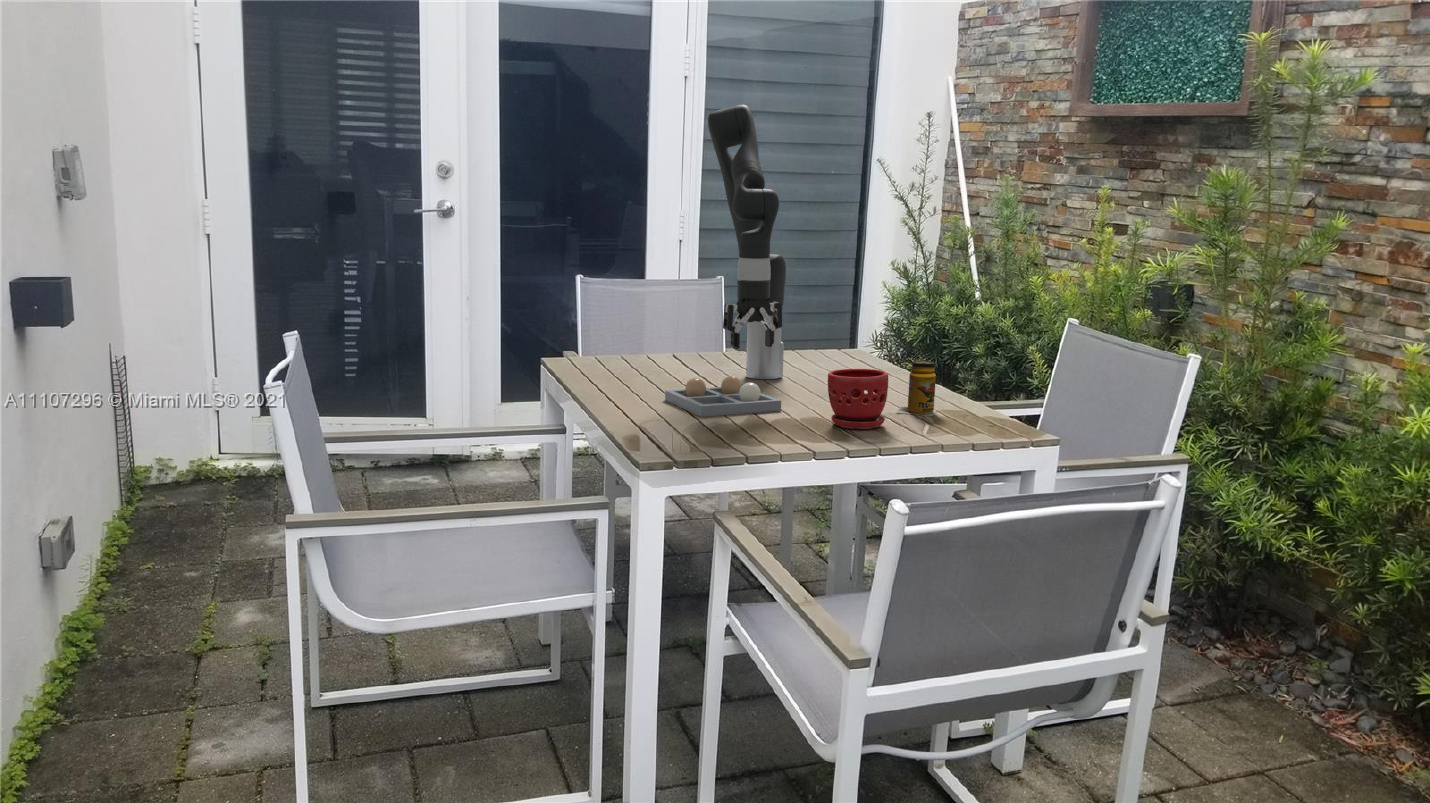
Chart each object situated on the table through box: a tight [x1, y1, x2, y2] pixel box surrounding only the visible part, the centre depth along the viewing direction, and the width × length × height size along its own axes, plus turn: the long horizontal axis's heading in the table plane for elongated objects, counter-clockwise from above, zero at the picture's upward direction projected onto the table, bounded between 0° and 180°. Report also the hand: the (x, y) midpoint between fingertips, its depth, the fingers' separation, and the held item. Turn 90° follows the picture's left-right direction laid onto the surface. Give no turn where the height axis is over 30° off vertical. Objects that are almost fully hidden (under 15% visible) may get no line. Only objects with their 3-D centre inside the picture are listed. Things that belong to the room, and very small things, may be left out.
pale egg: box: [739, 382, 761, 402], centre depth 261 cm, size 5×5×5 cm
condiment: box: [896, 359, 937, 417], centre depth 260 cm, size 7×8×12 cm
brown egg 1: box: [684, 377, 707, 397], centre depth 265 cm, size 5×5×5 cm
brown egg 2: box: [720, 375, 743, 395], centre depth 269 cm, size 5×5×5 cm
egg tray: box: [664, 386, 782, 418], centre depth 263 cm, size 20×20×2 cm
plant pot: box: [827, 368, 889, 430], centre depth 244 cm, size 13×13×12 cm
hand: (752, 347), depth 259 cm, fingers open, 8 cm apart
